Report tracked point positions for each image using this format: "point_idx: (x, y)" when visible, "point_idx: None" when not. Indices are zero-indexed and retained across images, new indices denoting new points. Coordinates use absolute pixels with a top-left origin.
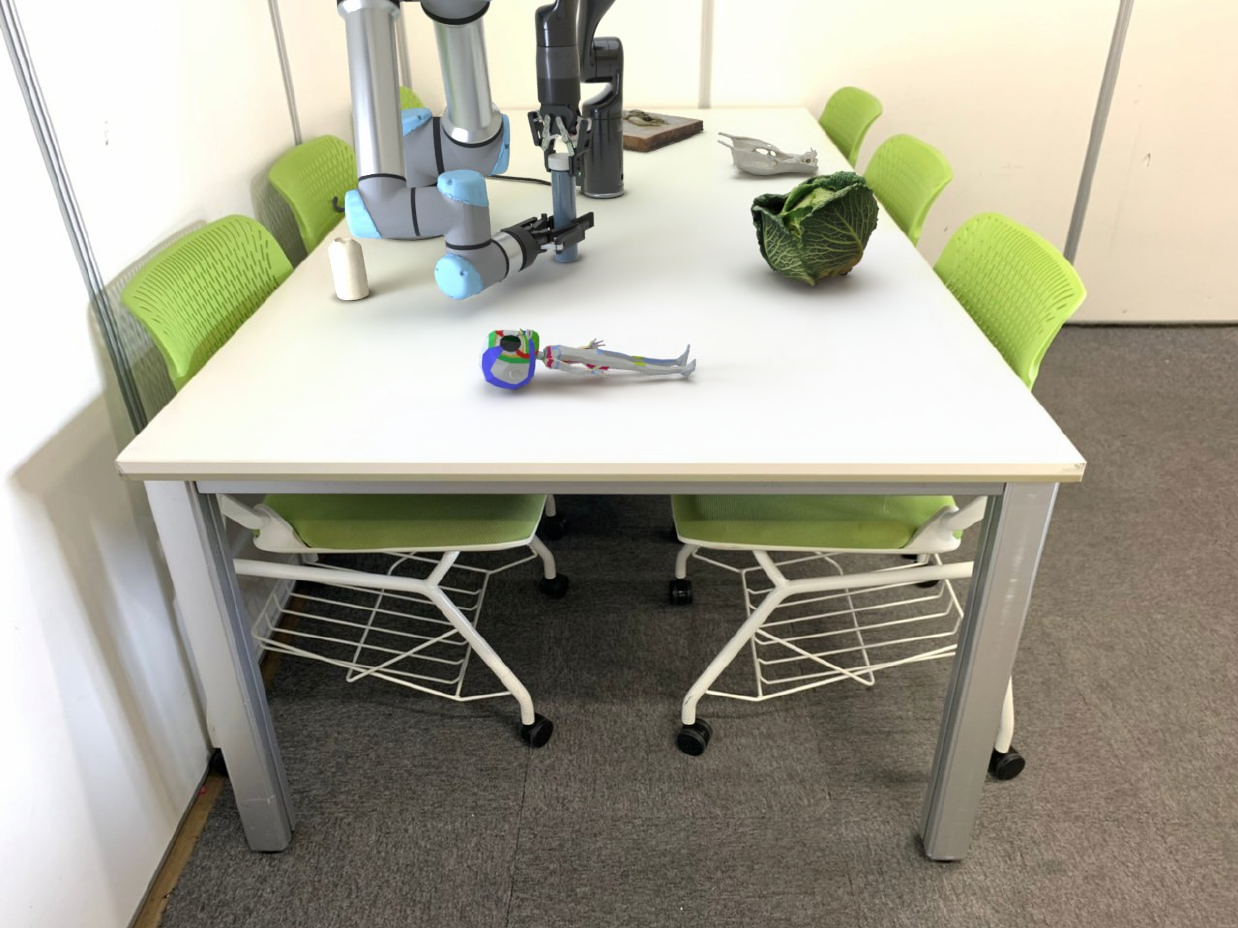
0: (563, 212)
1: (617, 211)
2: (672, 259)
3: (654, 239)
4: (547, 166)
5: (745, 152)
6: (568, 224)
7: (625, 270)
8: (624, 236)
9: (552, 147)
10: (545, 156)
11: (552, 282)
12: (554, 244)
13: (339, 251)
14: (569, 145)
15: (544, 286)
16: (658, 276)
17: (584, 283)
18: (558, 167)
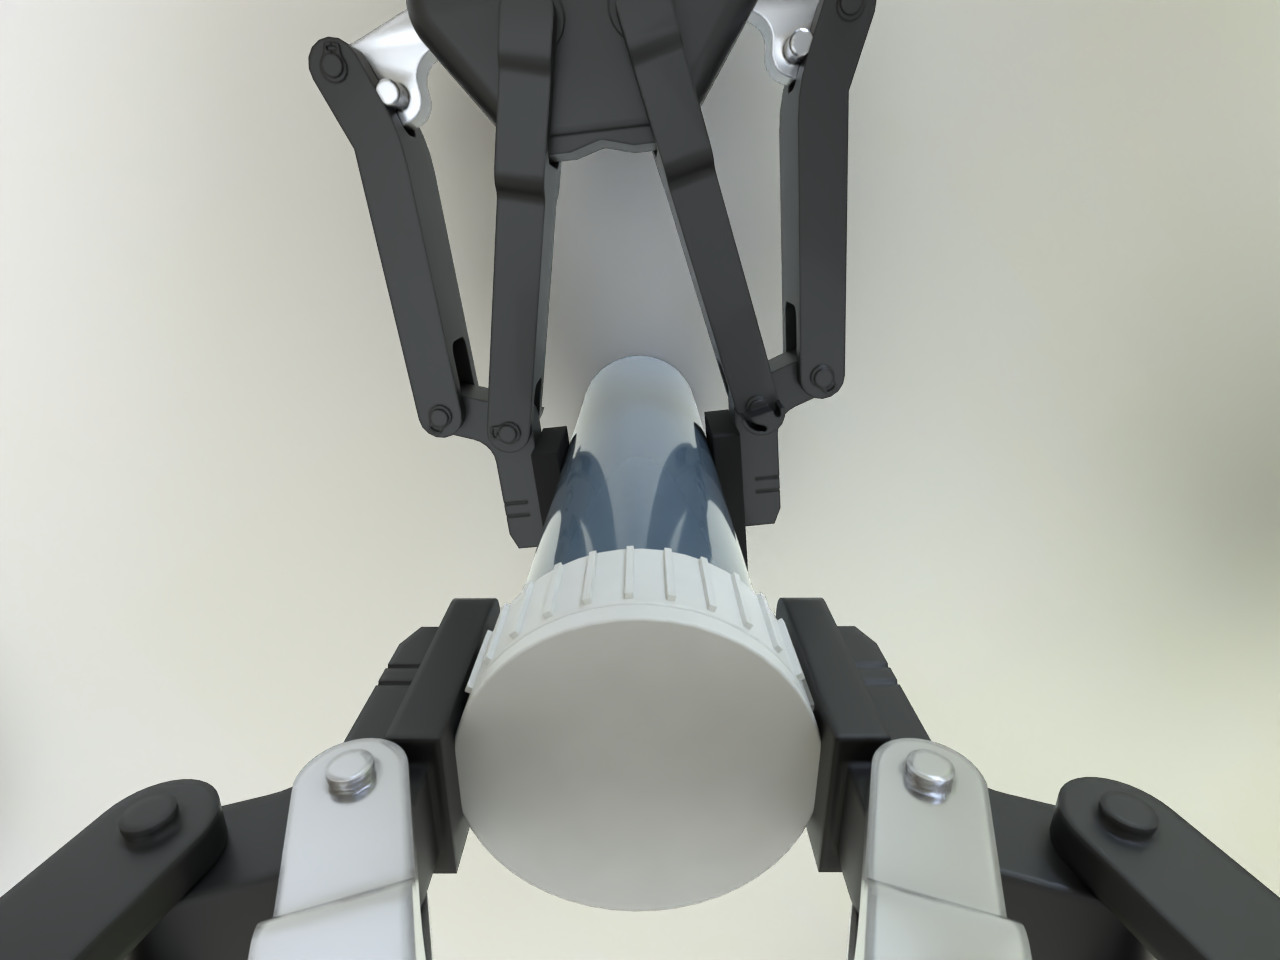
0: (590, 438)
1: (833, 946)
2: (266, 654)
3: None
4: (810, 624)
5: None
6: (530, 392)
7: (314, 444)
8: None
9: (849, 870)
10: (869, 697)
11: (465, 92)
12: (362, 47)
13: None
14: (341, 872)
15: None
16: (151, 466)
17: (329, 186)
18: (572, 577)
